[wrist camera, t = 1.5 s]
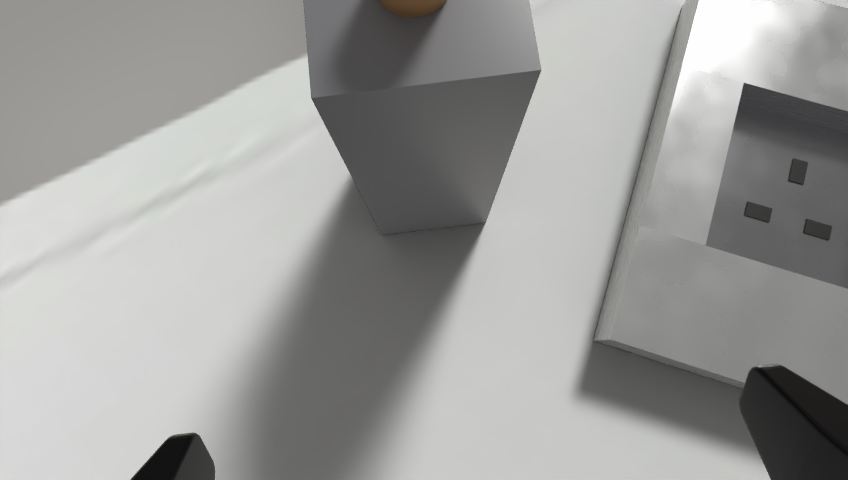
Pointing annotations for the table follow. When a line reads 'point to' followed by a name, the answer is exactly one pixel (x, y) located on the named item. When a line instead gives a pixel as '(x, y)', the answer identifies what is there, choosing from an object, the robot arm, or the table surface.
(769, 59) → the socket plate
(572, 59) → the table surface
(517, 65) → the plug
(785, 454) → the robot arm
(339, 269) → the table surface
